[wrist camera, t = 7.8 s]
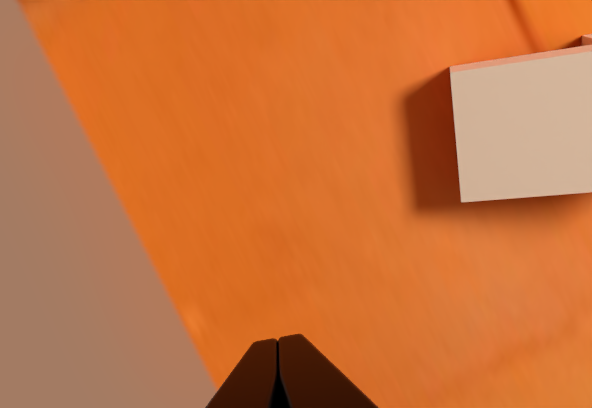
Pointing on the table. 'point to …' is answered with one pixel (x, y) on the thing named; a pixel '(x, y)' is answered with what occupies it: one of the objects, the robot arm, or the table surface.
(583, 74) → the domino
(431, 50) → the table surface
